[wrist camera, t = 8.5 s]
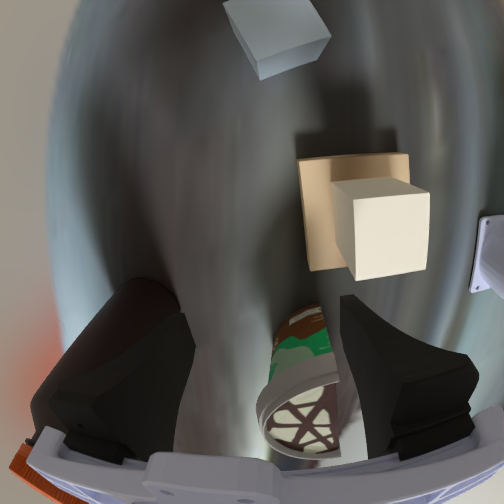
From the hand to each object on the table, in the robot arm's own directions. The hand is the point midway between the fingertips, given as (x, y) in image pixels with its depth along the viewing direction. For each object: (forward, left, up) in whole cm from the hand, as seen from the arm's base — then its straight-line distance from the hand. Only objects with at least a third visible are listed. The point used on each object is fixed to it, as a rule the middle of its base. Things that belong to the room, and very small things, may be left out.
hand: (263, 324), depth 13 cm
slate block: (-3, -15, -10) cm, 19 cm away
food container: (-1, +11, -11) cm, 15 cm away
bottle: (+12, +5, -11) cm, 17 cm away
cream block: (-7, -2, -8) cm, 11 cm away
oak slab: (-7, -2, -11) cm, 13 cm away
